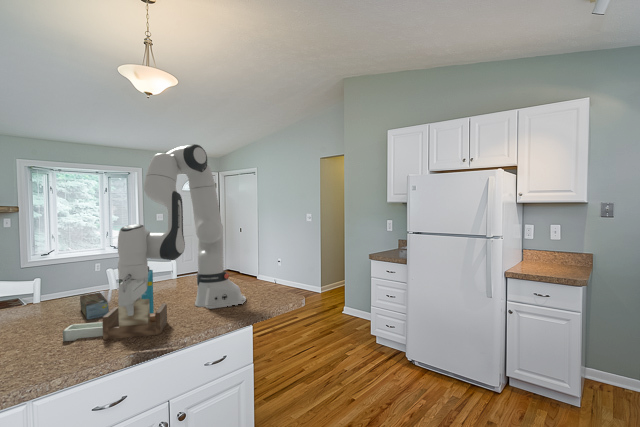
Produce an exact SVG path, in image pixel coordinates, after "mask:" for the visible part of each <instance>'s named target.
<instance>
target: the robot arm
mask: <svg viewBox="0 0 640 427" xmlns="http://www.w3.org/2000/svg"><path fill="white" fill-rule="evenodd" d="M184 174H185V175H186V177H187V179H188V189H189V193H190V199H191V203H192V204H191V205H192V210H193V212H192V213H193V220H194V226H195V233H196V236H197V238H198V243H197V244H198V246H197V248H198V249H197V274H196V284H197V285H196V286H197V290H196V291H197V293H196V298H195V302H194V306H196V307H198V308H206V309H208V310H214V309H219V308H226V307H227V306H228V307H233V306H232V305H235V306H239V305H238V304H242V305H243V303H244V302H245V301H246V302H247V298H246V296H245V295H244V294H242V292H241V288H240V286H239V285H237V284H236V283H234V282H233V281H232V280H230V279H229V277H230V275H229V272H227V271H225V270H224V225H223V223H222V218H221V213H220V212H221V211H220V206H219V200H218V194H217V188H216V183H215V179H214V176H213V171H212V170H211V168H210V166H209V165H208V155H207V152H206V150H205V149H204V148H203V146H201V145H200V144H194V143H192V144H188V145H181V146H177V147H176V148H174V149H171V150H167V151H165V152H162V153H161V152H160V153H156V154H154V155H153V156H152V158H151V160H150V162H149V165H148V167H147V170H146V174H145V178H144V184H143V190H144V191H143V192H144V193H145V194H146V196H147V197H148V198H149V199H150V200H151V201H153V202H155V203H157V204H159V205H162V206H164V207H166V209H167V230H166V231H165V232H152V231H148V230H147V229H146V228H145V225H143V224H140V223H139V224H137V223H136V224H128V225H125V226H122V227H121V228H120V229H119V231H118V235H117V237H118V238H117V254H118V262H117V272H118V273H117V275H118V278H117V279H118V280H119V279H122V280H123V282H121V283H120V285H119V284H118V293H117V294H118V295H117V296H118V299H117V304H119V306H120V307H126V309H127V315H128V316H132V315H133V314H134V313H135V312H134V311H135V309H134V307H133V305H134V302H135V301H136V300H141V298H142V295H143V294H144V293H145V292H146V290H147V285H148V272H149V270H150V266H149V265H148V259H149V260H150V259H151V260H155V259H156V260H167V261H175V260H177V259H178V258H179V257H181V256H182V255H183V253H184V252H185V249H186V248H185V247H186V244H185V243H186V241H185V236H184V217H183V215H184V214H183V213H184V210H183V209H184V207H183V205H184V204H183V199H182V195H181V194H180V193H179V192H178V191H177V181H178V175H184ZM246 302H245V303H246ZM245 303H244V304H245Z"/></svg>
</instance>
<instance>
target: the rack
mask: <svg viewBox="0 0 640 427" xmlns="http://www.w3.org/2000/svg"><path fill="white" fill-rule="evenodd" d="M154 313H155V320H156V323H155V324H143V325H132V326H121V327H119V312H118V306H114V307H113V308H112V309H110V311H109V312H108V313H107V314H106V315H105V316H103V317H101V318H102V322H103V336H102V340H111V339H123V338H124V339H125V338H132V337H133V338H134V337H144V336H156V335H162V332H163V331H164V329H165V327H166V326H167V325H168V303H167V302H166V303H164V302H163V303H162V304H161V305H160V306H159V308H158V309H157V310H156V312H154Z"/></svg>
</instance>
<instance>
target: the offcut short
mask: <svg viewBox="0 0 640 427" xmlns="http://www.w3.org/2000/svg"><path fill="white" fill-rule="evenodd" d="M155 313H156V312H154V313H150V323H151V322H156V320H155Z"/></svg>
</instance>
